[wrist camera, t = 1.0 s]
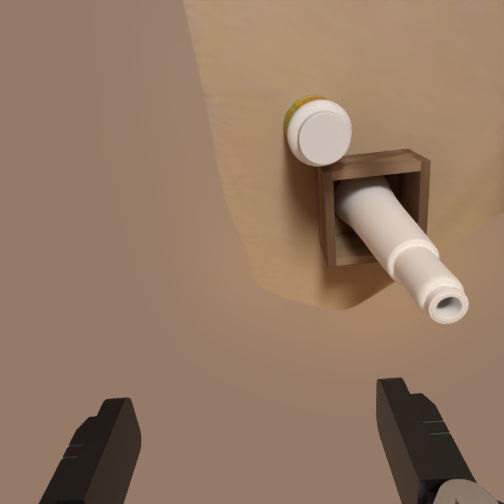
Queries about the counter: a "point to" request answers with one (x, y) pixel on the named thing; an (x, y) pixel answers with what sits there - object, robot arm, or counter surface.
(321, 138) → the supplement bottle
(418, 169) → the holder
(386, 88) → the counter surface
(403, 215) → the cosmetic bottle
